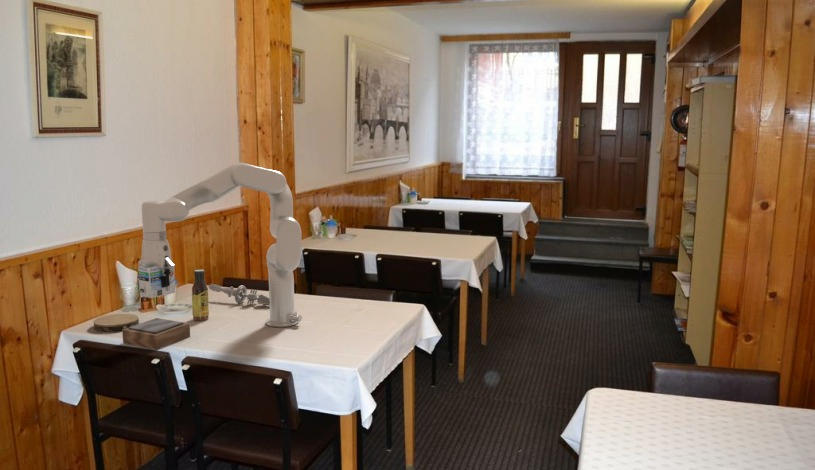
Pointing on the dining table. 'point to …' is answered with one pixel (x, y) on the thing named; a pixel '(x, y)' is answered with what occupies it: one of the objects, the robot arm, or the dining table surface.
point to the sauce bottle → (200, 297)
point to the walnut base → (156, 333)
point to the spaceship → (241, 294)
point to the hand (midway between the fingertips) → (157, 285)
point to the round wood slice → (115, 322)
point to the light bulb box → (154, 282)
